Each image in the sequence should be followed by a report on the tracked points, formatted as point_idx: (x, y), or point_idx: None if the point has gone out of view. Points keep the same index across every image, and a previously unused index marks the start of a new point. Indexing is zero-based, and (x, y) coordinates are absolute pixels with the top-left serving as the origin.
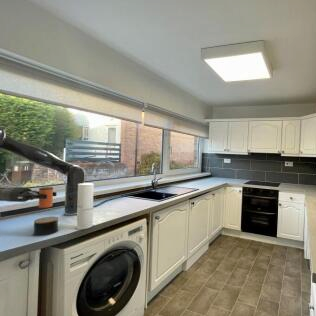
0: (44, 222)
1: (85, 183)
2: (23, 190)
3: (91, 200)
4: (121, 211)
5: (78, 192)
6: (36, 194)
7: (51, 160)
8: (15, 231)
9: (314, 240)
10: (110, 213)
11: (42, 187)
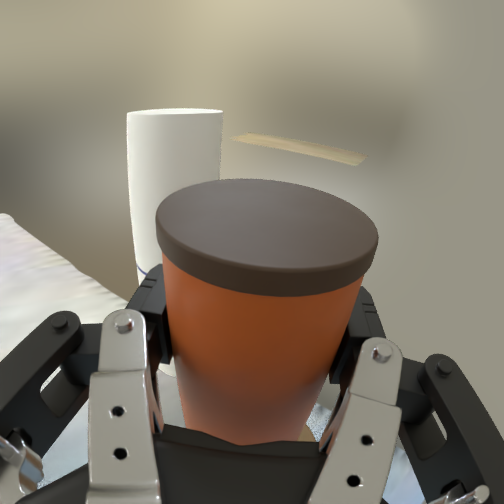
0: (308, 430)
1: (146, 112)
2: None
3: None
4: (20, 283)
5: (204, 176)
6: (394, 346)
7: None
8: None
9: (292, 151)
10: (22, 308)
11: (246, 249)
